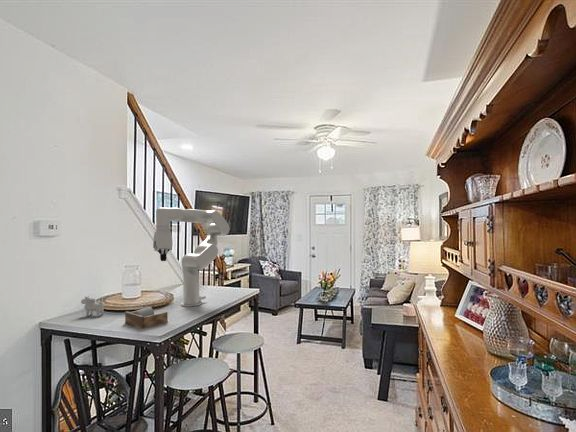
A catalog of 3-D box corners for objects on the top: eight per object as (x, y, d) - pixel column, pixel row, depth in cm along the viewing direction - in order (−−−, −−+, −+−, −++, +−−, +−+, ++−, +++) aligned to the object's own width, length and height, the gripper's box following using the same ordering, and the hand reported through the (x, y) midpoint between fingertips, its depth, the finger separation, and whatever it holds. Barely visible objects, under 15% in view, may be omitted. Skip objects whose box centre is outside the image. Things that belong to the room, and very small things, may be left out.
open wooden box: (150, 316, 182) (150, 306, 182) (167, 322, 172) (167, 310, 172) (125, 323, 172) (125, 311, 172) (141, 328, 161) (141, 317, 161)
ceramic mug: (132, 323, 170) (132, 308, 170) (147, 320, 176) (147, 305, 176) (142, 328, 163) (142, 312, 163) (158, 324, 169) (158, 308, 169)
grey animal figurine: (85, 313, 192) (85, 295, 192) (106, 314, 190) (105, 295, 190) (78, 316, 187) (78, 297, 187) (99, 316, 185) (99, 297, 185)
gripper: (171, 228, 203) (171, 259, 202) (147, 229, 191) (147, 261, 191) (178, 228, 198) (178, 260, 198) (154, 229, 187) (154, 262, 186)
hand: (163, 260), depth 194 cm, fingers closed
